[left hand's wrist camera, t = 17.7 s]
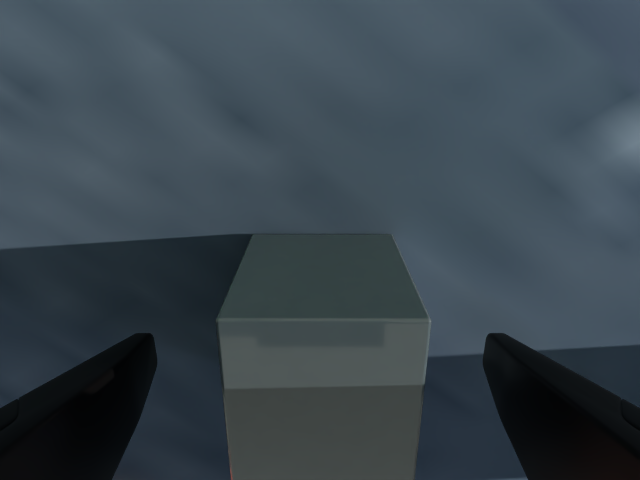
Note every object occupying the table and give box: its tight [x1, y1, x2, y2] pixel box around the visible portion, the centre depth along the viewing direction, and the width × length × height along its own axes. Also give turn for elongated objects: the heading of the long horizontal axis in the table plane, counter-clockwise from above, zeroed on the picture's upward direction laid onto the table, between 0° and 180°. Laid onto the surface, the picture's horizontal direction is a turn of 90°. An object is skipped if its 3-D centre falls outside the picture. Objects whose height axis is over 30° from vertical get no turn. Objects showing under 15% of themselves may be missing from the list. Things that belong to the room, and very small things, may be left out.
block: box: [215, 234, 431, 480], centre depth 11 cm, size 4×5×5 cm
